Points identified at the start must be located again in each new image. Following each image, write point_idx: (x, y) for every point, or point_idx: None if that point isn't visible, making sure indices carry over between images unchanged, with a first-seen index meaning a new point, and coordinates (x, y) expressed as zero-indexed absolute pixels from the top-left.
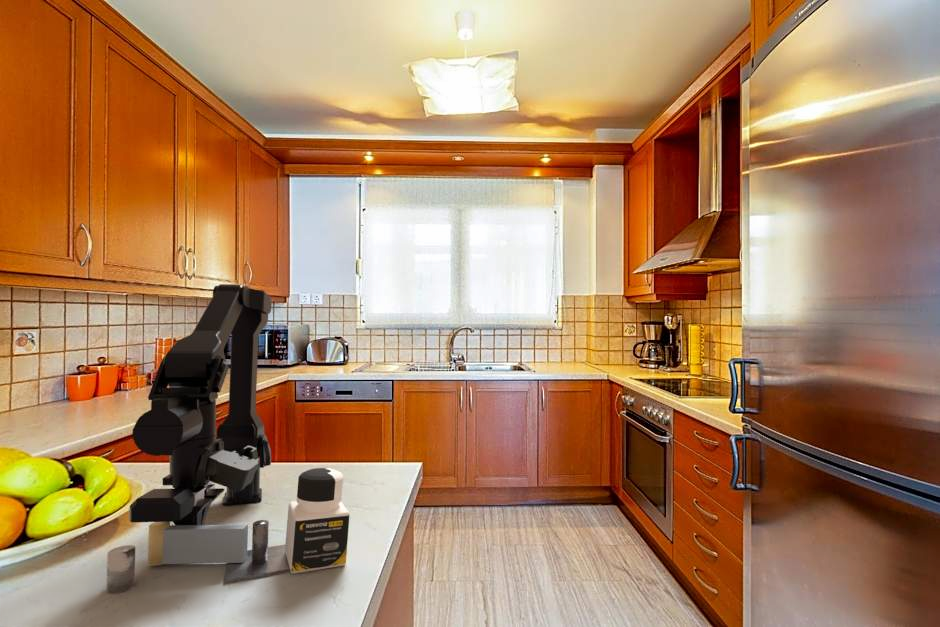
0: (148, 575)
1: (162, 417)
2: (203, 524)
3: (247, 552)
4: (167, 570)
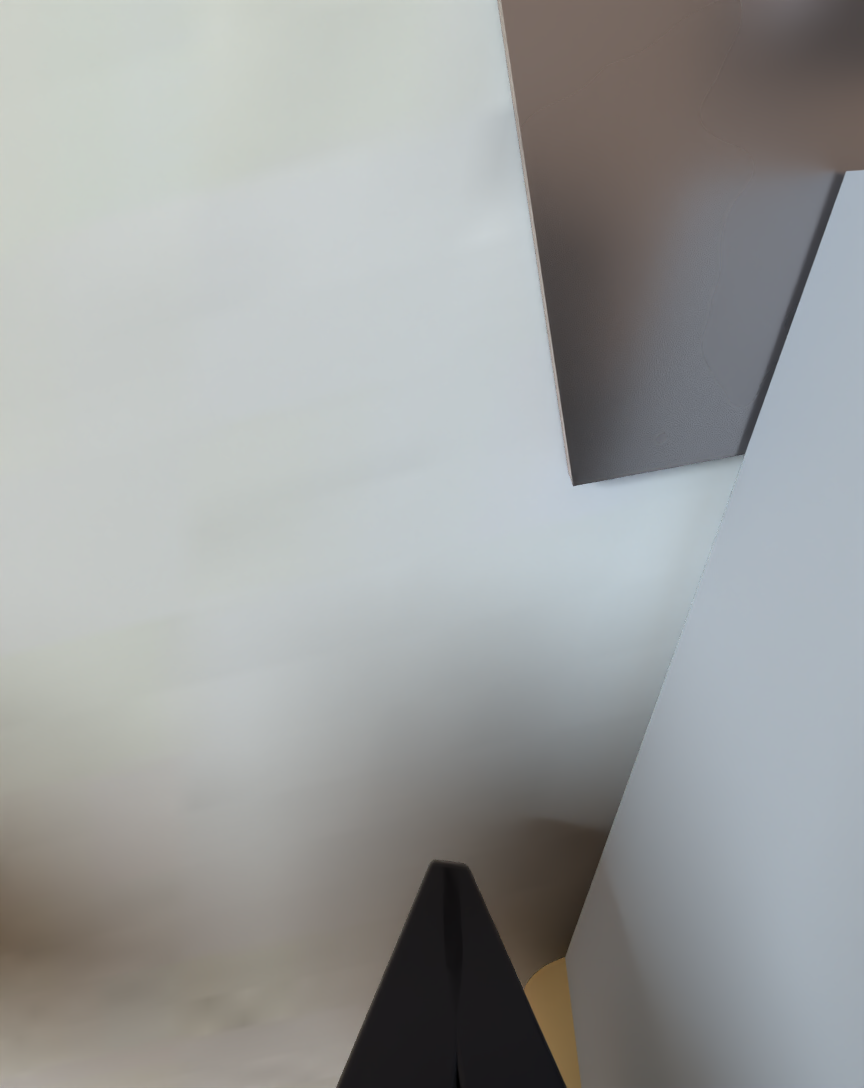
0: None
1: None
2: (373, 1075)
3: (621, 223)
4: None
